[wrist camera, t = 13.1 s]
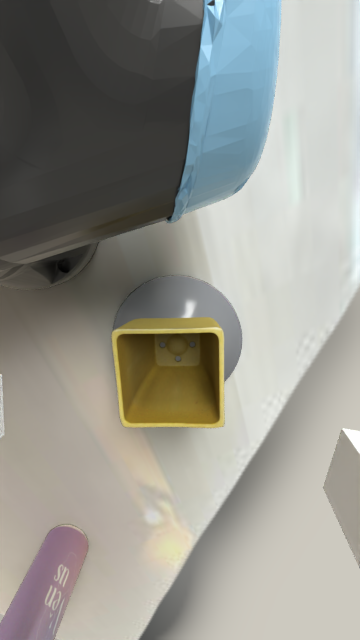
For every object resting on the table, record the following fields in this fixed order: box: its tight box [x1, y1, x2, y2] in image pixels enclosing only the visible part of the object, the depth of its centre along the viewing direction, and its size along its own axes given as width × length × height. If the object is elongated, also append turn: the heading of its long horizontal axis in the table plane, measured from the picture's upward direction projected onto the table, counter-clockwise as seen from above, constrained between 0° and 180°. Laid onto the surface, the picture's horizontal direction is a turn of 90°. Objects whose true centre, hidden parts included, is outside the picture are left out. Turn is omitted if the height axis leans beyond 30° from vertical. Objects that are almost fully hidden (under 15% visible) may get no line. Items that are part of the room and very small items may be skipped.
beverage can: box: [0, 525, 88, 640], centre depth 36 cm, size 6×6×15 cm
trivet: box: [113, 275, 242, 382], centre depth 34 cm, size 14×14×1 cm
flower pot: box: [111, 317, 225, 428], centre depth 29 cm, size 9×9×9 cm
